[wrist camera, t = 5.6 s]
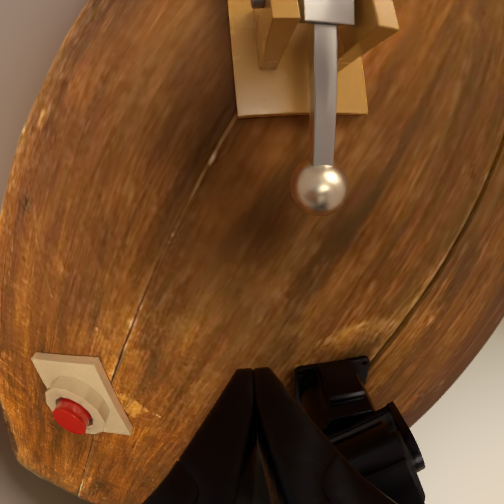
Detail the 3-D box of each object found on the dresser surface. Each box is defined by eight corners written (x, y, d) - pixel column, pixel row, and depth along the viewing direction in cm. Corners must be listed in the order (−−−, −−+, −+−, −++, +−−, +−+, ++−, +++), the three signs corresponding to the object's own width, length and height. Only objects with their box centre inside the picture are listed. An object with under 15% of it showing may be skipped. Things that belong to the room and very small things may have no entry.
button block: (133, 427, 26) (127, 448, 23) (74, 419, 26) (65, 437, 23) (98, 356, 23) (86, 378, 20) (36, 351, 23) (22, 369, 20)
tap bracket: (361, 115, 17) (440, 99, 9) (237, 118, 17) (234, 91, 9) (341, -10, 14) (391, -75, 6) (226, -12, 14) (219, -92, 6)
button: (97, 424, 22) (91, 437, 21) (69, 419, 22) (63, 431, 21) (82, 399, 21) (75, 412, 20) (53, 395, 21) (46, 407, 19)
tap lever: (336, 194, 18) (352, 225, 15) (285, 197, 18) (294, 230, 15) (342, -21, 9) (368, -30, 7) (277, -26, 9) (289, -40, 7)
